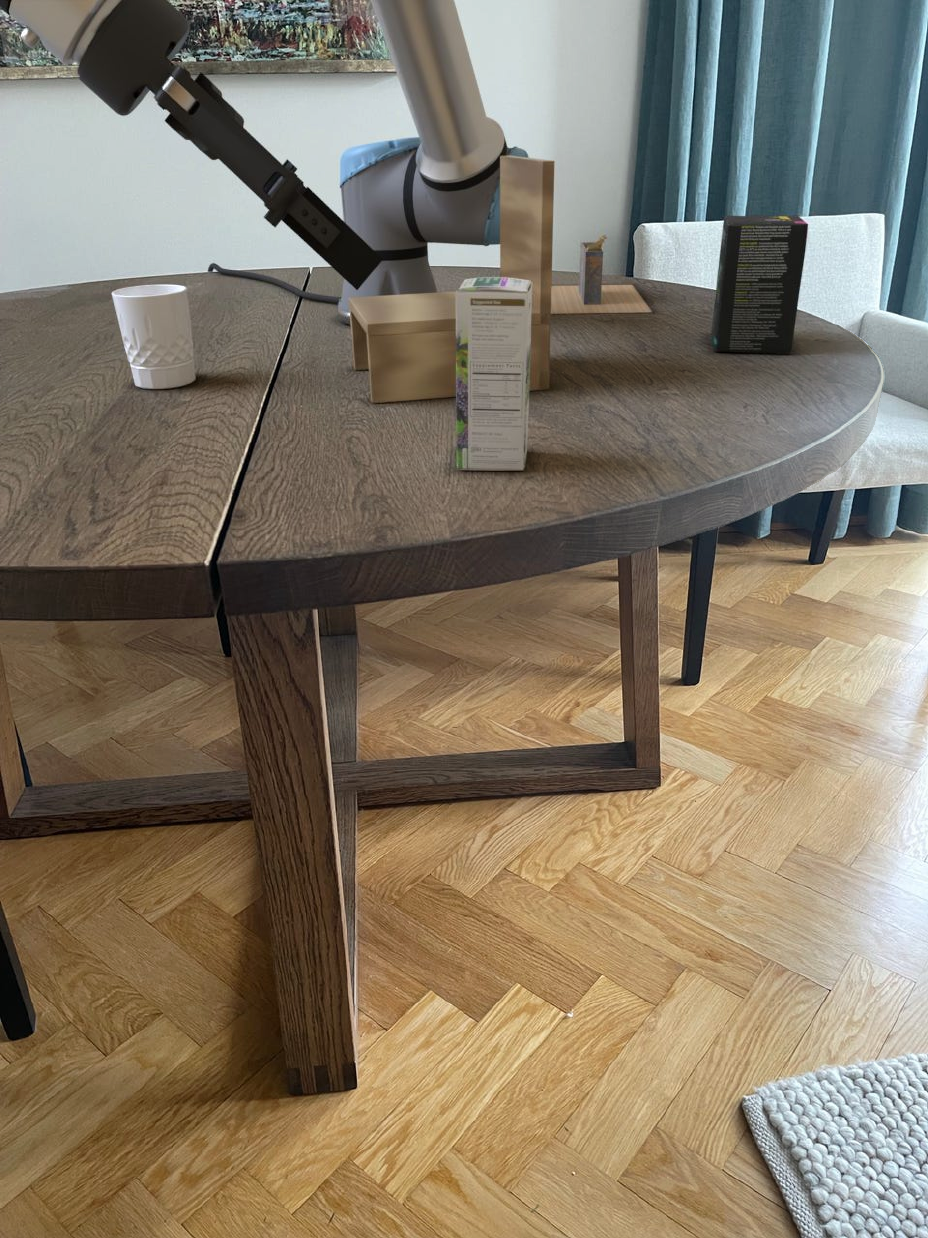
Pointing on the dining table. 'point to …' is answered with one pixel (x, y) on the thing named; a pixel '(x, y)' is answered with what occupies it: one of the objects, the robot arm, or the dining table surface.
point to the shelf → (426, 323)
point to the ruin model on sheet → (595, 289)
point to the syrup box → (493, 372)
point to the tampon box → (758, 283)
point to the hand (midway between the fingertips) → (357, 261)
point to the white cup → (156, 334)
